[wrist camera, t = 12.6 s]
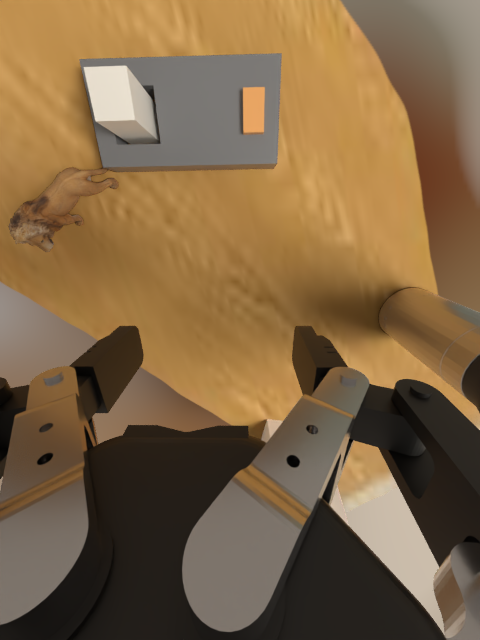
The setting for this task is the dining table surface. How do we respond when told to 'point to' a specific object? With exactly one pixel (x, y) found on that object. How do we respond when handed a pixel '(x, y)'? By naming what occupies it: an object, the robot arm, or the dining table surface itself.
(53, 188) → the lion figurine
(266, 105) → the grey board with slot
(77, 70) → the dining table surface
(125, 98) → the white rectangular block
